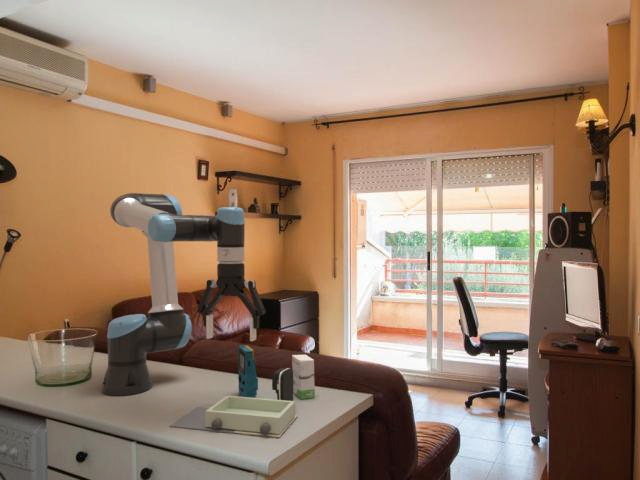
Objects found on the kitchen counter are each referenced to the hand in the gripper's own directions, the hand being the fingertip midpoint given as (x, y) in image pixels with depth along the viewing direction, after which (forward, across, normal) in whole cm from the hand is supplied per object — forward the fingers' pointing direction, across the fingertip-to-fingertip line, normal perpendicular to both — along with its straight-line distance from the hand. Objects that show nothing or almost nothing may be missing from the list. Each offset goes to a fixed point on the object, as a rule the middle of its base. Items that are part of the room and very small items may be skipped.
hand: (231, 339), depth 142 cm
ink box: (+21, +15, +20) cm, 32 cm away
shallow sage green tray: (+21, +9, -6) cm, 23 cm away
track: (+21, +4, -6) cm, 22 cm away
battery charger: (+21, +13, +6) cm, 25 cm away
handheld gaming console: (+21, -1, +14) cm, 25 cm away
